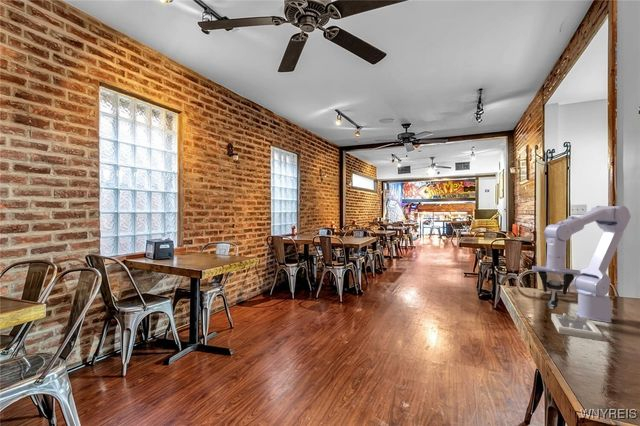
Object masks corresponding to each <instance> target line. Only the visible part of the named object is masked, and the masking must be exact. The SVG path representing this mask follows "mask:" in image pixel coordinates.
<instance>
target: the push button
mask: <svg viewBox="0 0 640 426" xmlns="http://www.w3.org/2000/svg"><path fill="white" fill-rule="evenodd" d="M563 284H564V283H563ZM563 284H562V282H561V281H559V280H554V279H549V281H547V289H549V290H551V291H550V296H548V303H547V306H548V308H549V309H552V310H556V308H557V309H558V308H559V298H558V291H561V290H562V291H563V287H564V285H563Z"/></svg>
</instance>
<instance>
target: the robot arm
mask: <svg viewBox="0 0 640 426" xmlns="http://www.w3.org/2000/svg"><path fill="white" fill-rule="evenodd" d="M630 219H631V213H630V210H629V208H628V207H627V206H625V205H620V206H618V205H615V206H613V205H608V206H607V205H596V206H595V207H591V209H590V210H589V211H587V212H586V213H583V214H582V215H580V216H575V215H574V216H573V215H570V216H567V218H566V219H564V220H560V221H558V222H557V223H555V224H553V223H552V224H548V225H547V226H546V227H545V229H544V231H543V235H544V238H545V242H546V246H547V247H546V265H545V266H543V265H542V266H538V265H537V266H536V265H532V266H531V270H532V271H531V272H535V273H536V272H537V273H538V275H539V277H540V280H541V283H542V287H543V292H544V293H547V292H548V287H547V282H548V274H557V275H563V276H562V277H563V278H562V279H563V285H564V287H563V289H562V294H563V295H565V296H566V295H567V292H568V289H569V287H570V285H571V283H572V282H573V284H572V285H573V287H574V288H575V290H576V293H578V296H577V297H578V299H577V310H576V311H575V310H574V313H575V315H579V316H580V318H587V319H590V321H591V320H592V321H599V322H605V323H612V320H611V317H612V301H611V297H609V296H607V294H608V293H609V292H610V287H611V285H610V284H611V281H612V279H611V278H610V276H609V275H608V274H607V271H608V268H609V266H610V265H611V262H612V259H613V257H614V255H615V253H616V251H617V248H618V246H619V244H620V241H621V239H622V237H623V235H624V232H625V230H626V228H627V226H628V225H629V223H630ZM594 222H595V223H596V225H597V227H598V228H599V229H601V230H602V231H603V232H602V233H603V234H602V235H601V238H600V240H599V243H598V244H597V247H596V249H595V251H594V253H593V255H592V258H591V260H590V262H589V264H588V267H585V268H583V269H580V270H579V269H570V268H566V259H567V258H566V256H567V241H569V240H570V238H571V236H572V235H573V234H575V233H579V232H580V231H582V230H583V229H584V228H585V226H586V225H588V224H591V223H594Z"/></svg>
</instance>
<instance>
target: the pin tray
mask: <svg viewBox="0 0 640 426" xmlns="http://www.w3.org/2000/svg"><path fill="white" fill-rule="evenodd" d="M550 315H551V316H550V318H551V321H552V323H553V325H554V327H555V329H556V331H557V332H558V334H560V335H567V336H572V337H578V338H584V339H591V340H596V341H602V340H603V333H602V332H601V331H600V330H599V329H598V327H597V326H596V325H595V324H594V323H593V321H591V319H587V318H580V316H579V315H576V314H575V316H571V315H568V314H567V313H565V312H563V313H562V314H557V313H553V312H551V314H550Z"/></svg>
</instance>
